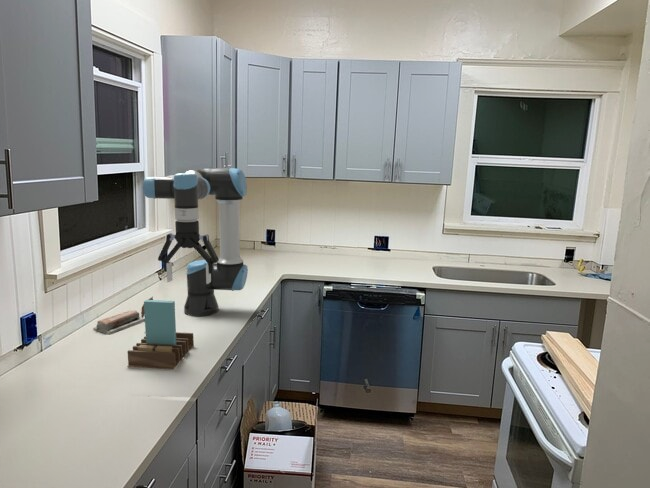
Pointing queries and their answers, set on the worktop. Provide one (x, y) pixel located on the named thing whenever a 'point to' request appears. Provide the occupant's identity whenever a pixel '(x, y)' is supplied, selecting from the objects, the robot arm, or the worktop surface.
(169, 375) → the worktop surface
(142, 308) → the wood plank
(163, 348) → the offcut
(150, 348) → the offcut
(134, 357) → the rack
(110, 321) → the packaged product
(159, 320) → the tall board
